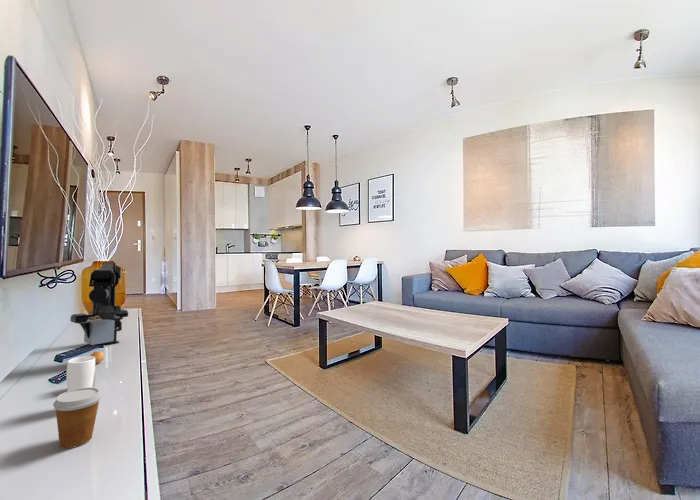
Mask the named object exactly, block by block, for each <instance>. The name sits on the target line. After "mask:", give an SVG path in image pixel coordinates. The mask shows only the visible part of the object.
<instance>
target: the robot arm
mask: <svg viewBox="0 0 700 500" xmlns="http://www.w3.org/2000/svg"><path fill="white" fill-rule="evenodd" d="M121 278H122V269H121V267H119V266H118V265H117V263H116V262H114V261H104V262H102V264H101V266H100V267H99V268H95V269H94V270H93V271H92V272H91V274H90V278H89V284H88V287H91V288H92V287H93V288H92V290H91V291H89V293H88V298H89V300H90V302H91V304H92V310H91V312H90V313H91V314H86V313H85V312H84V313H83V312H81V313H74V314H72V315H70V322H71V323H74V324H79V325H80V327H82V330H83V332H84V335H85V334H86V337H87V338H89V335H90V332H89V325H90V322H88V320H94V319H108V318H109V319H112V320H115V327H114V341H111V342H106V343H100V344H101V345H104V346H107V345H113V344H118V343H120V341H119V340H117V337H118V332H120V331H122V328H123V327H122V326H123V325H122V323H123V322H122V320H123V319H124V318H127V317H129V311H128V310H126V309H123V308H121V306H120V305H116V293H117V292H116V291H117V288H116V287H117V286H118V284H119V282H120V279H121Z"/></svg>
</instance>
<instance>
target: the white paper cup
mask: <svg viewBox="0 0 700 500" xmlns="http://www.w3.org/2000/svg"><path fill="white" fill-rule="evenodd" d="M95 368H96V364H95V357H93V356H90V355H87V356H86V355H85V356H77V357H73V358H70V359H69V360H67V364H66V388H67V389H66V390H67V391H66V392H68V391H71V390H74V389H79V388H87V387H93V380H94V374H95Z"/></svg>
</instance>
